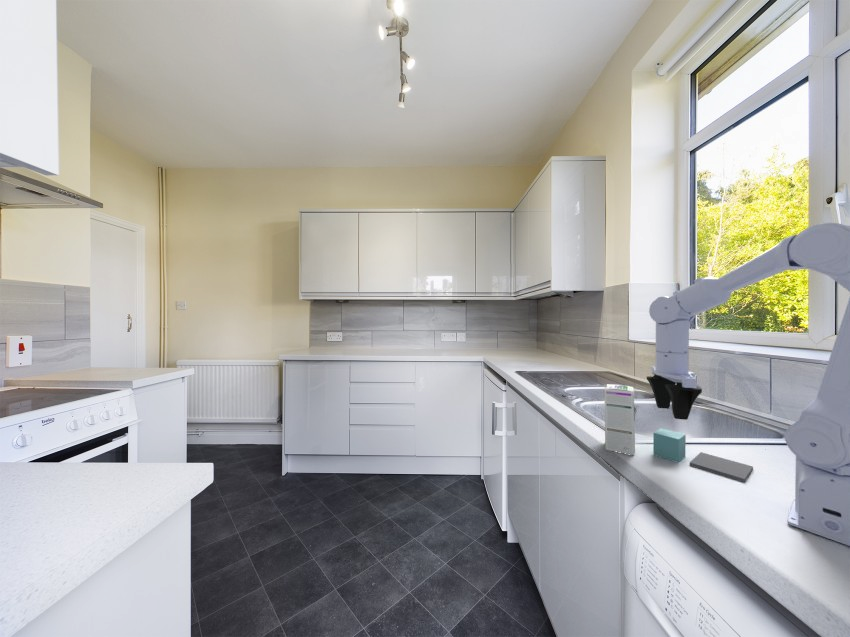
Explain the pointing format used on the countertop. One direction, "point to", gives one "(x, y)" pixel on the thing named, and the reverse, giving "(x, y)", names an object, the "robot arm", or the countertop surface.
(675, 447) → the teal block
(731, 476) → the mat
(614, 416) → the syrup box
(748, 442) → the countertop surface
